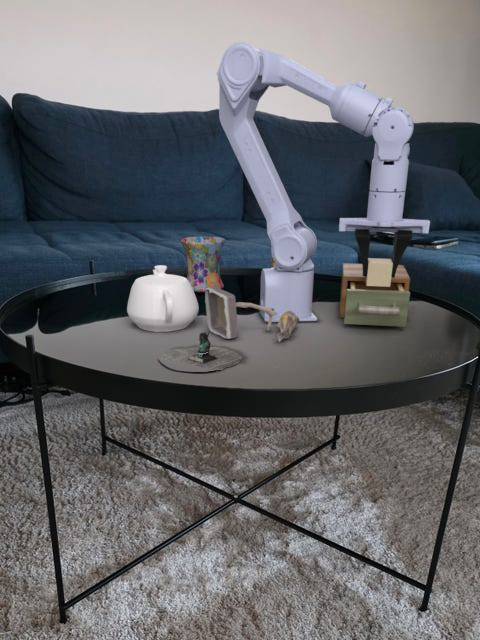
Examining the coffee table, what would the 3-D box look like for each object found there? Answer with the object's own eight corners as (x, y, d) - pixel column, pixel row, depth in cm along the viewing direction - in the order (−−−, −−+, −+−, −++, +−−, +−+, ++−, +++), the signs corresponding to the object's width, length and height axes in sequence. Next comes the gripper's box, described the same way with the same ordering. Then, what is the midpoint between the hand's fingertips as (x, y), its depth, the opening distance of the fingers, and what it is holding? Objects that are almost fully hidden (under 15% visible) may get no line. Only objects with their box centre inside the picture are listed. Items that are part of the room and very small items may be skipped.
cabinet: (404, 320, 107) (410, 278, 104) (340, 317, 109) (343, 276, 106) (398, 303, 118) (403, 265, 115) (340, 301, 120) (343, 263, 117)
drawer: (408, 335, 96) (413, 299, 94) (344, 332, 98) (347, 297, 95) (399, 309, 111) (403, 278, 108) (343, 307, 112) (346, 276, 110)
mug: (228, 294, 125) (228, 242, 120) (184, 296, 123) (182, 243, 119) (220, 282, 135) (219, 234, 131) (179, 283, 134) (177, 235, 129)
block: (390, 287, 100) (393, 263, 99) (366, 286, 101) (368, 262, 99) (388, 282, 104) (391, 258, 102) (365, 281, 104) (367, 258, 103)
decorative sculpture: (297, 327, 103) (299, 285, 100) (307, 344, 95) (310, 298, 91) (205, 328, 102) (204, 285, 99) (206, 345, 93) (206, 299, 90)
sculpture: (246, 350, 92) (243, 322, 85) (236, 403, 89) (232, 378, 82) (172, 341, 94) (163, 313, 87) (159, 392, 90) (148, 367, 83)
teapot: (124, 311, 112) (119, 256, 108) (188, 307, 115) (187, 254, 110) (132, 343, 94) (127, 279, 90) (208, 338, 97) (207, 275, 93)
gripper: (341, 192, 93) (335, 279, 99) (437, 193, 91) (424, 282, 97) (341, 189, 99) (335, 270, 105) (430, 190, 98) (419, 273, 103)
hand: (378, 276), depth 102 cm, fingers closed on block, 4 cm apart
